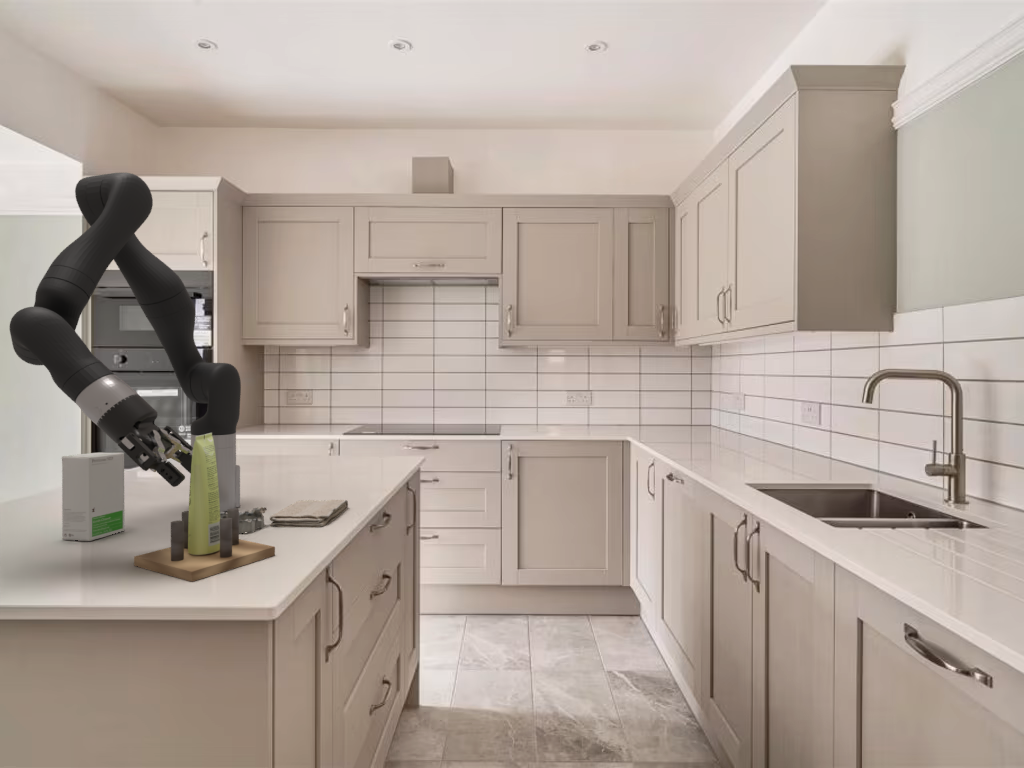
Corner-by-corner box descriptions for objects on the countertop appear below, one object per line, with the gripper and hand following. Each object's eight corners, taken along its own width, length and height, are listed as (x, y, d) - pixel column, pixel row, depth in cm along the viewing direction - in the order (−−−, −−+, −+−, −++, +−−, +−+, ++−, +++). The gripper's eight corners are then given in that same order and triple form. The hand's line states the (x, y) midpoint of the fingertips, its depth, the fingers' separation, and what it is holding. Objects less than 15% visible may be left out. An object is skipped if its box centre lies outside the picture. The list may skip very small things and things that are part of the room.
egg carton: (269, 527, 123) (269, 507, 123) (246, 536, 116) (246, 515, 116) (223, 523, 126) (223, 503, 126) (197, 532, 118) (197, 512, 118)
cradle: (218, 542, 111) (218, 502, 110) (274, 555, 103) (274, 511, 103) (134, 565, 97) (133, 519, 97) (191, 581, 90) (191, 531, 90)
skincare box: (89, 542, 110) (88, 457, 110) (59, 540, 112) (58, 456, 111) (126, 530, 119) (126, 451, 118) (98, 528, 120) (98, 450, 120)
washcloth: (266, 529, 122) (266, 514, 122) (297, 509, 140) (297, 496, 140) (325, 530, 122) (325, 514, 122) (348, 510, 140) (348, 496, 140)
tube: (181, 551, 100) (180, 433, 100) (212, 544, 104) (211, 431, 104) (195, 558, 97) (195, 436, 96) (227, 551, 100) (227, 434, 100)
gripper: (110, 394, 92) (190, 468, 93) (155, 391, 106) (223, 456, 107) (73, 429, 91) (154, 503, 93) (122, 421, 105) (192, 486, 107)
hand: (191, 478), depth 100 cm, fingers open, 8 cm apart
